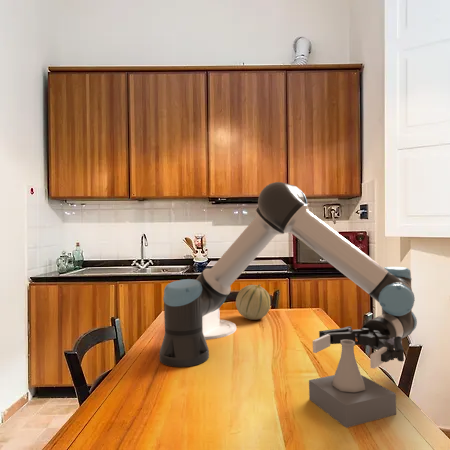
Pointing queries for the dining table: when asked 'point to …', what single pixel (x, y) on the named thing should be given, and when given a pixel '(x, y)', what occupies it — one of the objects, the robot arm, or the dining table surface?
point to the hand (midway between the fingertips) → (341, 353)
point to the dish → (216, 326)
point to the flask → (348, 370)
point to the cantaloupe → (253, 302)
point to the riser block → (352, 401)
